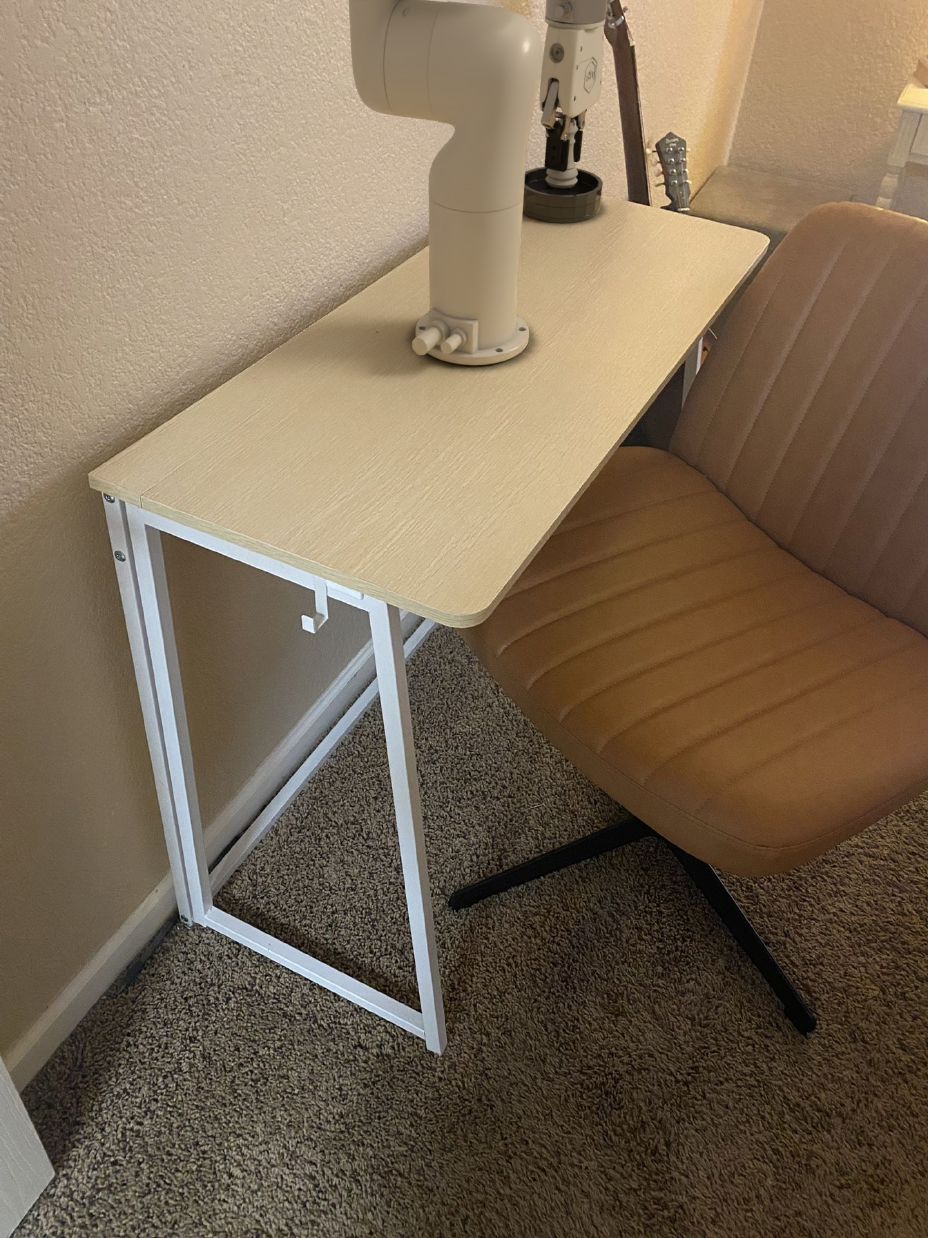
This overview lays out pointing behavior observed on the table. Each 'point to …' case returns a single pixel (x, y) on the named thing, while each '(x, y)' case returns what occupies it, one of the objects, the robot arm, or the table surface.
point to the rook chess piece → (569, 176)
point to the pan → (561, 197)
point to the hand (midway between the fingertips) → (562, 163)
